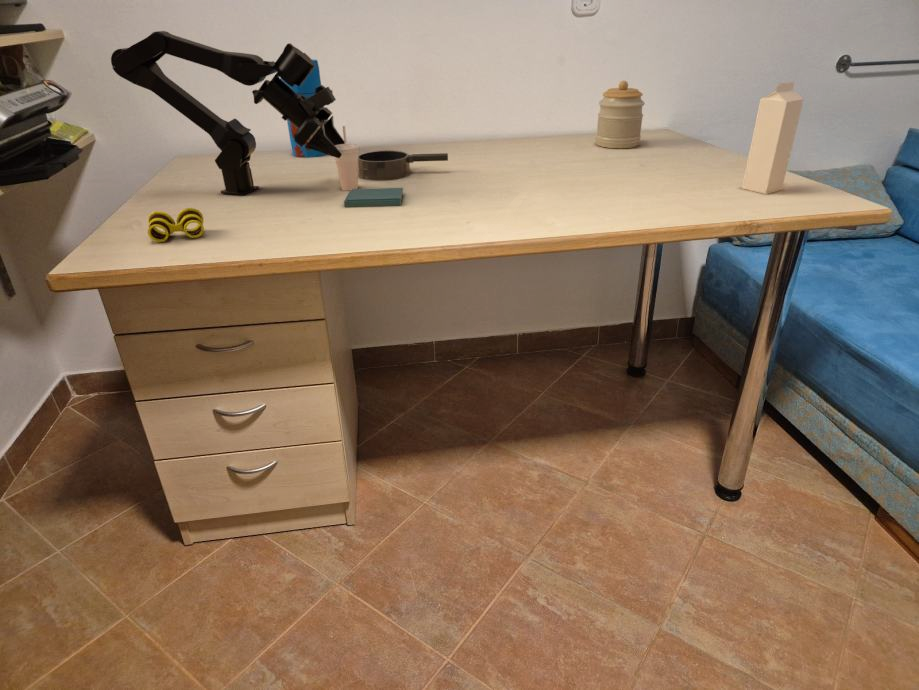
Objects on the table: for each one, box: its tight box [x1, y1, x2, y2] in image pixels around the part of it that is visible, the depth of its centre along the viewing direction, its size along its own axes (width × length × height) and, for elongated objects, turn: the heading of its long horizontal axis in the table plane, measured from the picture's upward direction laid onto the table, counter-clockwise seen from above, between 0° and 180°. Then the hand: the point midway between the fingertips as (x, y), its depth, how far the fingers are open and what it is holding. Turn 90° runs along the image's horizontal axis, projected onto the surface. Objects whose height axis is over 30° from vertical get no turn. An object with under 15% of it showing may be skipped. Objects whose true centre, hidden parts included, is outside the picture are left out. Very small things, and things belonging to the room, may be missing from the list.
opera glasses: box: [147, 207, 205, 243], centre depth 113 cm, size 10×5×5 cm, turn 110°
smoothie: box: [334, 125, 360, 191], centre depth 139 cm, size 6×6×14 cm
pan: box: [358, 150, 411, 181], centre depth 153 cm, size 13×13×4 cm
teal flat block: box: [343, 187, 404, 208], centre depth 133 cm, size 12×9×2 cm
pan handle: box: [409, 152, 449, 164], centre depth 153 cm, size 10×2×2 cm, turn 91°
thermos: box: [279, 58, 327, 158], centre depth 172 cm, size 11×11×25 cm
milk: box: [741, 81, 804, 195], centre depth 129 cm, size 6×6×22 cm
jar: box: [595, 80, 646, 149], centre depth 176 cm, size 13×13×18 cm
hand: (343, 152), depth 138 cm, fingers open, 9 cm apart
